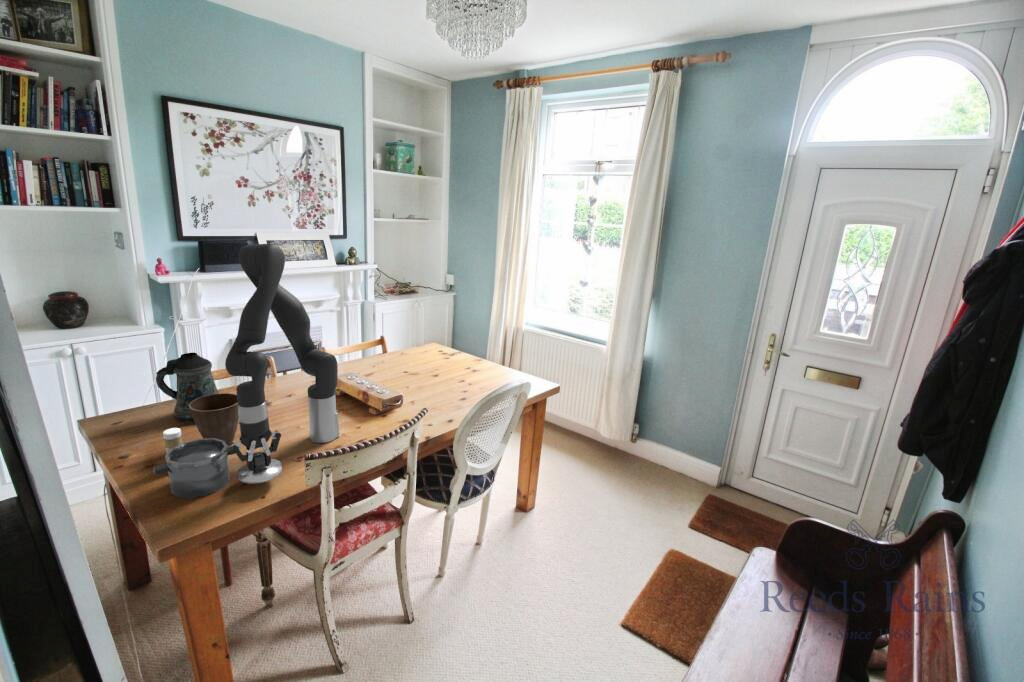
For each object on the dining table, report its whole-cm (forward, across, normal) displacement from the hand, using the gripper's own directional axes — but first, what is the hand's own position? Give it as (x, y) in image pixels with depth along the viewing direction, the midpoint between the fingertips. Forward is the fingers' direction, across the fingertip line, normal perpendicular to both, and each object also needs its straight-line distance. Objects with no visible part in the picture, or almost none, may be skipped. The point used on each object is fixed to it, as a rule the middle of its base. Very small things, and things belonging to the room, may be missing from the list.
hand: (259, 467), depth 143 cm
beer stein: (+6, +5, -61) cm, 62 cm away
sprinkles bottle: (+6, +17, -24) cm, 30 cm away
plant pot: (+6, +3, -33) cm, 34 cm away
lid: (+2, 0, 0) cm, 2 cm away
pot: (+5, +14, -10) cm, 18 cm away
